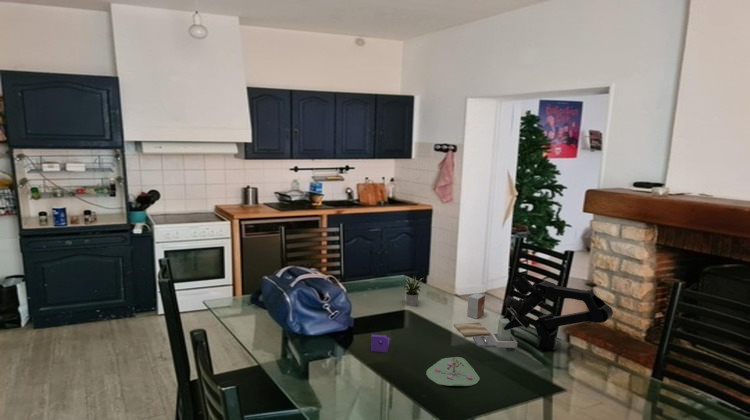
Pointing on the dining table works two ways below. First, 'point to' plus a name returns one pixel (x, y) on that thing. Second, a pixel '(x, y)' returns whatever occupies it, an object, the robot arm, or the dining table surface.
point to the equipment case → (494, 341)
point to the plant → (453, 372)
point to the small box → (476, 305)
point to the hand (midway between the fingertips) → (502, 326)
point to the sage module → (503, 334)
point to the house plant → (412, 292)
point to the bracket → (379, 343)
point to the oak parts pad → (472, 329)
